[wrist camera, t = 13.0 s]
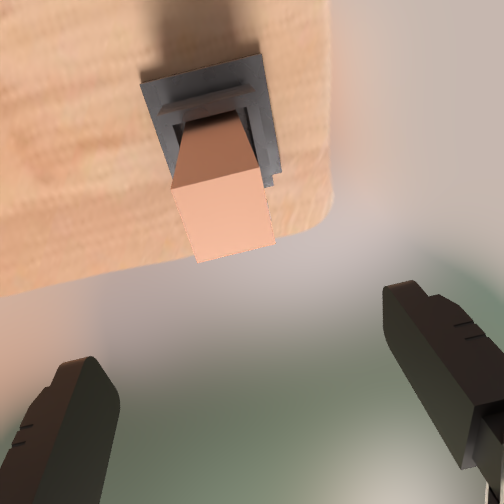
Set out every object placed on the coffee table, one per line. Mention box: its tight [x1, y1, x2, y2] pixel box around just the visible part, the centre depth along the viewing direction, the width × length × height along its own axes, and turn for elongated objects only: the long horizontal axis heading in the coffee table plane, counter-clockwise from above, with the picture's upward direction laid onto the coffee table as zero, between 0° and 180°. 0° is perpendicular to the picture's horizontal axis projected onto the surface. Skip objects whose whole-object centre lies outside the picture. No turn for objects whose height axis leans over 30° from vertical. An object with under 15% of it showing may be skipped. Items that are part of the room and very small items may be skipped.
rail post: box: [171, 110, 276, 263], centre depth 22 cm, size 4×4×14 cm
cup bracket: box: [140, 53, 282, 219], centre depth 28 cm, size 10×10×10 cm
